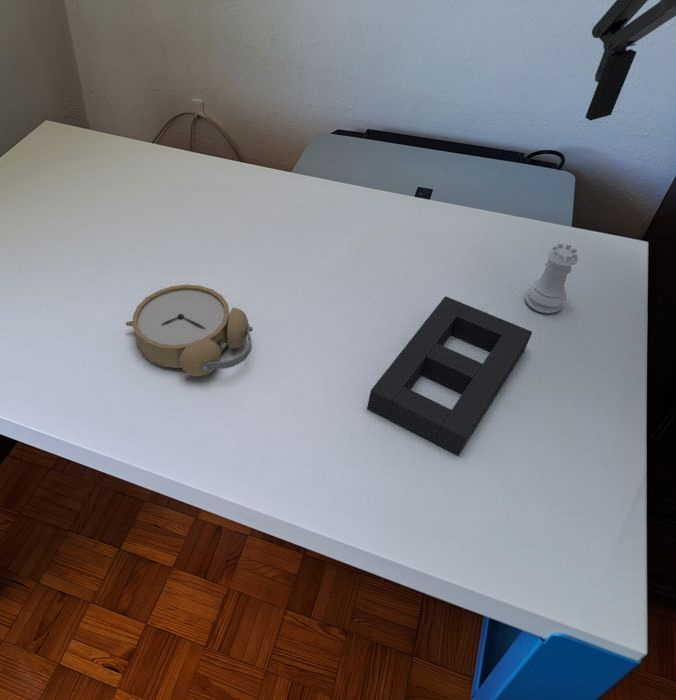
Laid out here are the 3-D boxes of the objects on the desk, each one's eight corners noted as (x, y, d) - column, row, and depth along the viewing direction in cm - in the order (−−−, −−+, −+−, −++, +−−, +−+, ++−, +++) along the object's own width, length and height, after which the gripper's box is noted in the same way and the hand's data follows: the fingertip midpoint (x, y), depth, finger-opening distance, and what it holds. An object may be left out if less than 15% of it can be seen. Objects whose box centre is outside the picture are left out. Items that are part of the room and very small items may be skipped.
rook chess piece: (536, 285, 85) (558, 232, 79) (570, 303, 82) (594, 250, 77) (516, 301, 83) (536, 249, 77) (549, 320, 80) (573, 267, 75)
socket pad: (524, 350, 77) (532, 331, 75) (458, 456, 68) (465, 438, 66) (440, 314, 82) (445, 295, 80) (366, 408, 72) (370, 390, 70)
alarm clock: (176, 273, 84) (272, 307, 76) (183, 305, 87) (277, 341, 79) (110, 322, 79) (206, 365, 70) (121, 354, 82) (214, 400, 73)
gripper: (605, -137, 58) (531, 101, 74) (912, -59, 42) (735, 224, 57) (672, -147, 60) (586, 86, 76) (990, -77, 44) (799, 202, 59)
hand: (650, 146), depth 67 cm, fingers open, 13 cm apart
